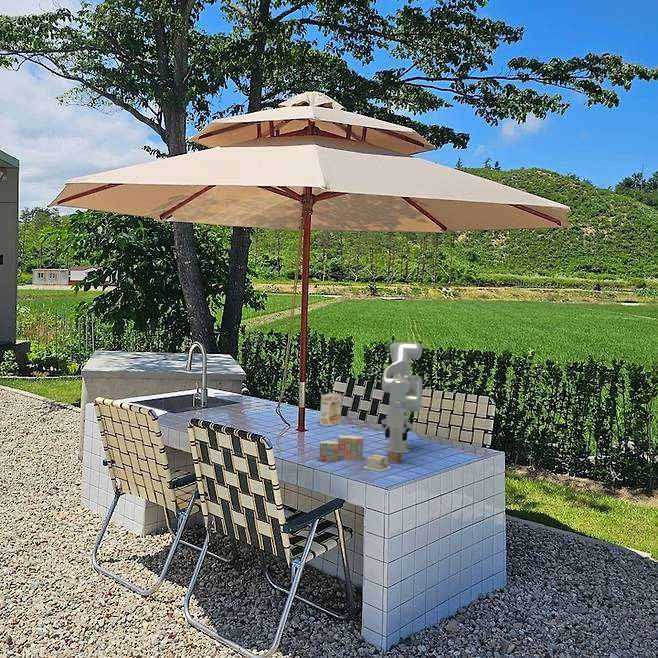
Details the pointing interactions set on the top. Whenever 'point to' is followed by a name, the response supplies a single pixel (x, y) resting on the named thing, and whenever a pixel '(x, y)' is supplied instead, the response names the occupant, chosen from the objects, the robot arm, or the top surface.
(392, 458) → the walnut block
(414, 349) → the robot arm
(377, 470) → the board
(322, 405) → the coffeecake box
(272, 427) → the top surface
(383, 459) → the maple base block
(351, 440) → the stack of blocks
